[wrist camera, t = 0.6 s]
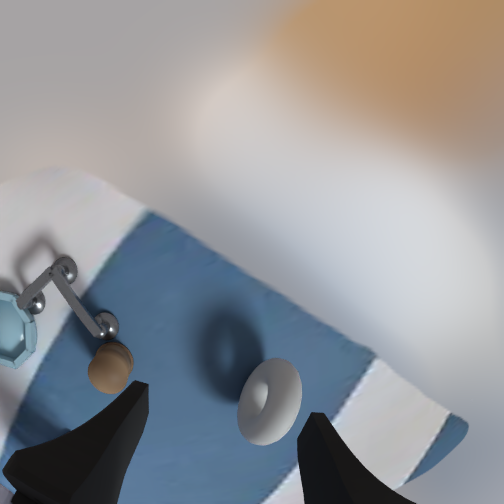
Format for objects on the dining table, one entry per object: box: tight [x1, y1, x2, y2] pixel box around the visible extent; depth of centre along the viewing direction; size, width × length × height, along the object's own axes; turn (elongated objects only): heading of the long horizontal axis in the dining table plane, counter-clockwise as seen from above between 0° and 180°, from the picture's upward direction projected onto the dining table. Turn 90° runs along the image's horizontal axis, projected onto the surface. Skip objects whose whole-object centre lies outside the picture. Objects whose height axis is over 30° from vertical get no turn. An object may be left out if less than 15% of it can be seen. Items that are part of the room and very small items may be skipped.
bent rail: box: [15, 257, 119, 340], centre depth 25 cm, size 8×10×4 cm
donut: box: [237, 358, 302, 445], centre depth 28 cm, size 10×4×10 cm, turn 156°
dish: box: [0, 291, 37, 369], centre depth 23 cm, size 9×9×2 cm
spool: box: [88, 342, 133, 394], centre depth 26 cm, size 4×4×5 cm
